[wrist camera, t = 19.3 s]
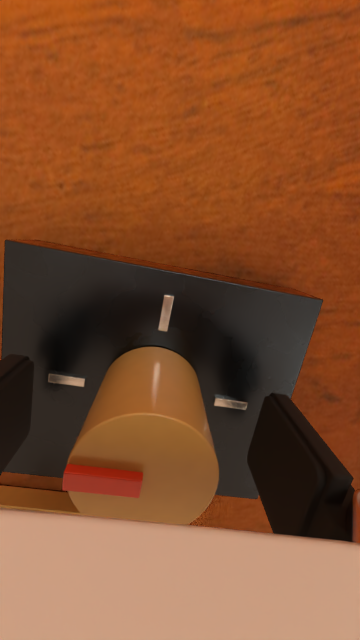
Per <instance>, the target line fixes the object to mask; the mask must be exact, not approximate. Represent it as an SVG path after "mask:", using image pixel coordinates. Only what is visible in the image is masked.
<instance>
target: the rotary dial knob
mask: <svg viewBox="0 0 360 640" xmlns="http://www.w3.org/2000/svg"><path fill="white" fill-rule="evenodd" d="M218 481H219V465H218V460H217V456H216V452H215V447H214V443H213V439H212V435H211V431H210V427H209V423H208V418H207V414H206V410H205V406H204V402H203V398H202V393H201V389H200V385H199V381H198V378H197V375H196V373H195V371H194V369H193V368H192V366H191V365H190V364H189V363H188V361H186V360H185V359H184V358H183V357H182V356H180V355H179V354H177V353H175V352H173V351H171V350H168V349H165V348H160V347H142V348H137V349H134V350H131V351H129V352H126V353H125V354H123V355H121V356H120V357H119V358H117V359H116V360H115V361H114V362H113V363H112V364H111V366H110V367H109V368H108V370H107V372H106V374H105V376H104V378H103V381H102V383H101V385H100V387H99V390H98V392H97V394H96V396H95V399H94V401H93V403H92V405H91V408H90V410H89V412H88V414H87V417H86V419H85V421H84V423H83V426H82V428H81V430H80V432H79V435H78V437H77V439H76V441H75V444H74V446H73V448H72V450H71V453H70V455H69V458H68V461H67V465H66V468H65V470H64V473H63V483H62V490H65V491H68V493H69V496H70V498H71V500H72V502H73V504H74V505H75V507H76V508H77V510H78V511H79V512H80V513H81V514H82V515H88V516H98V517H109V518H120V519H130V520H141V521H151V522H162V523H172V524H182V525H188V524H189V523H191V522H192V521H194V520H195V519H196V518H197V517H199V516H200V515H201V514H202V513H203V512H204V511H205V510H206V508H207V507H208V505H209V504H210V503H211V501H212V499H213V497H214V495H215V492H216V490H217V486H218Z"/></svg>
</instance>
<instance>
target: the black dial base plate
mask: <svg viewBox="0 0 360 640" xmlns="http://www.w3.org/2000/svg"><path fill="white" fill-rule="evenodd" d="M322 303H323V300H322V299H320V298H317V297H314V296H312V295H309V294H306V293H303V292H301V291H298V290H295V289H291V288H285V287H280V286H275V285H270V284H265V283H259V282H254V281H249V280H244V279H238V278H233V277H228V276H223V275H217V274H212V273H207V272H202V271H197V270H191V269H186V268H181V267H176V266H170V265H165V264H160V263H155V262H150V261H144V260H139V259H134V258H129V257H123V256H118V255H113V254H108V253H102V252H97V251H92V250H87V249H82V248H76V247H71V246H66V245H61V244H55V243H50V242H45V241H40V240H5V253H4V288H3V323H2V358H1V360H2V359H4V358H5V357H6V356H8V355H9V354H16V355H23V356H28V357H29V359H30V361H33V362H34V379H33V395H32V411H31V426H30V431H29V434H28V436H27V438H26V439H25V441H24V442H23V443H22V445H21V446H20V448H19V449H18V451H17V452H16V453H15V455H14V456H13V458H12V459H11V461H10V462H9V463H8V465H7V466H6V468H5V469H4V471H3V472H11V473H21V474H30V475H39V476H48V477H57V478H63V473H64V470H65V468H66V465H67V461H68V458H69V455H70V453H71V450H72V448H73V446H74V444H75V441H76V439H77V437H78V435H79V432H80V430H81V428H82V426H83V423H84V421H85V419H86V417H87V414H88V412H89V410H90V408H91V405H92V403H93V401H94V399H95V396H96V394H97V392H98V390H99V387H100V385H101V383H102V381H103V378H104V376H105V374H106V372H107V370H108V368H109V367H110V366H111V364H112V363H113V362H114V361H115V360H116V359H117V358H119V357H120V356H121V355H123V354H125V353H126V352H129V351H131V350H134V349H137V348H142V347H160V348H165V349H168V350H171V351H173V352H175V353H177V354H179V355H180V356H182V357H183V358H184V359H185V360H186V361H188V363H189V364H190V365H191V366H192V368H193V369H194V371H195V373H196V375H197V378H198V381H199V385H200V389H201V393H202V398H203V402H204V406H205V410H206V414H207V418H208V423H209V427H210V431H211V435H212V439H213V443H214V447H215V452H216V456H217V460H218V465H219V481H218V486H217V490H216V492H215V495H222V496H231V497H240V498H249V499H258V496H259V493H258V490H257V488H256V485H255V482H254V480H253V477H252V474H251V472H250V469H249V466H248V463H247V454H248V450H249V447H250V443H251V440H252V437H253V434H254V430H255V427H256V424H257V420H258V417H259V414H260V411H261V407H262V404H263V401H264V398H265V397H266V396H269V395H270V394H271V393H277V394H283V395H287V396H288V397H289V398H290V399H291V396H292V393H293V390H294V387H295V384H296V381H297V378H298V375H299V372H300V369H301V366H302V363H303V360H304V357H305V354H306V351H307V348H308V345H309V342H310V339H311V336H312V333H313V330H314V327H315V324H316V321H317V318H318V315H319V312H320V309H321V306H322Z"/></svg>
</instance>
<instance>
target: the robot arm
mask: <svg viewBox="0 0 360 640" xmlns="http://www.w3.org/2000/svg"><path fill="white" fill-rule="evenodd" d="M33 379H34V362H33V361H30V359H29V357H28V356H23V355H16V354H9V355H8V356H6V357H5V358H4V359H2V360H1V361H0V475H1V473H2V472H3V471H4V469H5V468H6V466H7V465H8V463H9V462H10V461H11V459H12V458H13V456H14V455H15V453H16V452H17V451H18V449H19V448H20V446H21V445H22V443H23V442H24V441H25V439H26V438H27V436H28V434H29V431H30V426H31V411H32V395H33ZM247 463H248V466H249V469H250V472H251V474H252V477H253V480H254V482H255V485H256V488H257V490H258V493H259V496H260V498H261V501H262V504H263V506H264V509H265V512H266V514H267V517H268V520H269V522H270V525H271V528H272V530H273V533H274V534H272V533H262V532H252V531H243V530H233V529H223V528H213V527H203V526H193V525H182V524H172V523H162V522H151V521H141V520H130V519H120V518H109V517H98V516H88V515H76V514H65V513H54V512H43V511H31V510H20V509H9V508H0V640H360V489H357V490H356V491H355V490H354V488H353V487H352V486H351V483H352V480H353V477H352V476H351V474H350V473H349V472H348V471H347V469H346V468H345V467H344V466H343V464H342V463H341V462H340V461H339V459H338V458H337V457H336V456H335V454H334V453H333V452H332V451H331V449H330V448H329V447H328V446H327V444H326V443H325V442H324V441H323V439H322V438H321V437H320V436H319V434H318V433H317V432H316V431H315V429H314V428H313V427H312V426H311V424H310V423H309V422H308V421H307V419H306V418H305V417H304V416H303V414H302V413H301V412H300V411H299V409H298V408H297V407H296V406H295V404H294V403H293V402H292V400H291V399H290V398H289V397H288V396H287V395H283V394H277V393H271V394H270V395H269V396H266V397H265V398H264V401H263V404H262V407H261V411H260V414H259V417H258V420H257V424H256V427H255V430H254V434H253V437H252V440H251V443H250V447H249V450H248V454H247Z"/></svg>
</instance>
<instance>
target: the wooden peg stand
mask: <svg viewBox="0 0 360 640" xmlns="http://www.w3.org/2000/svg"><path fill="white" fill-rule="evenodd" d="M0 508H9V509H20V510H31V511H43V512H54V513H65V514H76V515H82V514H81V513H80V512H79V511H78V510H77V508H76V507H75V505H74V504H73V502H72V500H71V498H70V496H69V493H68V492H61V491H51V490H41V489H32V488H22V487H13V486H3V485H0Z"/></svg>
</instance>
